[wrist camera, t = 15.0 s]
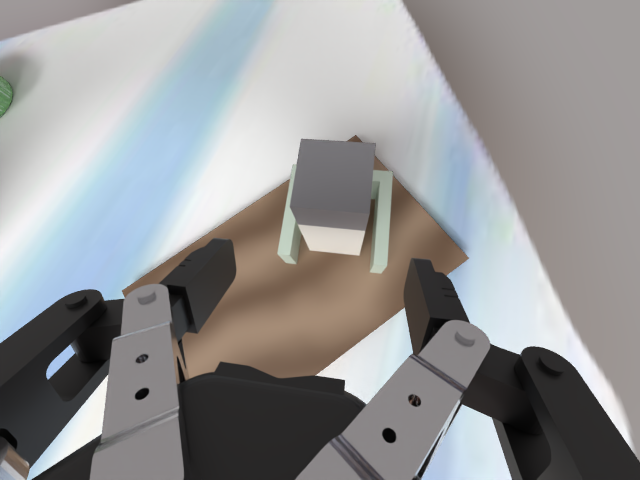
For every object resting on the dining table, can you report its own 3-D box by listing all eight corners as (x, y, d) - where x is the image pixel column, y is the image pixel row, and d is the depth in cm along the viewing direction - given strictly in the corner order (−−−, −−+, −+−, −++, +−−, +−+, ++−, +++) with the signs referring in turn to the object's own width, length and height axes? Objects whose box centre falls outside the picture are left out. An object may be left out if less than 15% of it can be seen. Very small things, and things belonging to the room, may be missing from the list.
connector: (359, 255, 25) (369, 213, 15) (309, 250, 25) (289, 206, 16) (363, 209, 26) (375, 143, 16) (316, 205, 26) (301, 138, 17)
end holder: (381, 273, 24) (387, 265, 21) (286, 263, 25) (277, 253, 22) (386, 190, 26) (392, 171, 23) (298, 183, 27) (292, 164, 24)
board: (131, 292, 27) (121, 290, 26) (355, 142, 30) (355, 135, 28) (208, 455, 22) (200, 462, 21) (463, 261, 25) (468, 258, 24)
